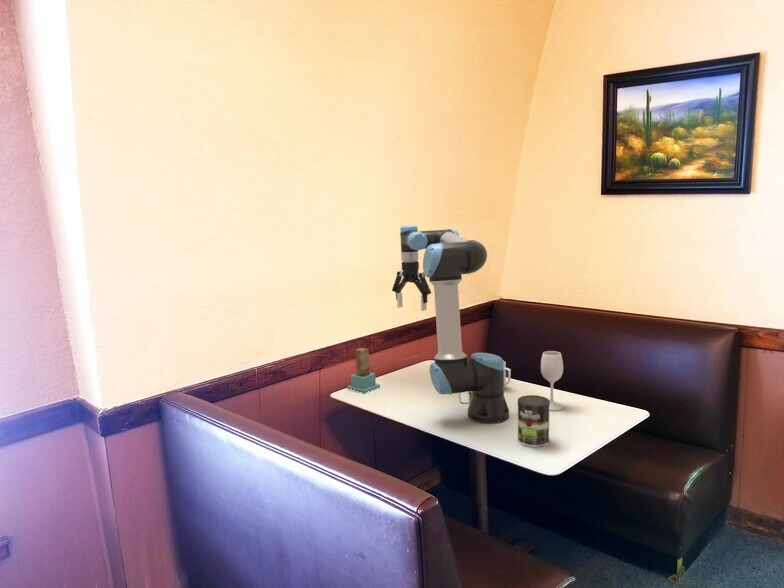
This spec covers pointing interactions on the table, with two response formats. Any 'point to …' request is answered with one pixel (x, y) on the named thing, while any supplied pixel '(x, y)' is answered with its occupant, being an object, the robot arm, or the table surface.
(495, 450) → the table surface
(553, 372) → the wineglass
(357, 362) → the post
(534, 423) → the coffee can
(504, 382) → the mug
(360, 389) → the teal square socket
